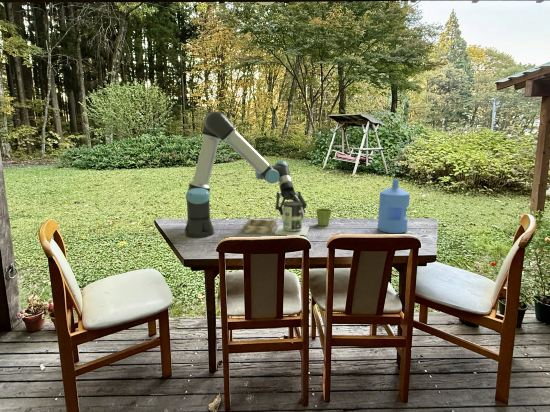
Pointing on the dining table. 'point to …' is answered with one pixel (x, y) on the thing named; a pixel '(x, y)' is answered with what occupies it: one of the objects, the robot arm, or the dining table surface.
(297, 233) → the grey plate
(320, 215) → the plant pot
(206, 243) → the dining table surface
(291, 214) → the coffee can
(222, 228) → the dining table surface
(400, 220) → the water jug
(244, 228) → the birch frame
